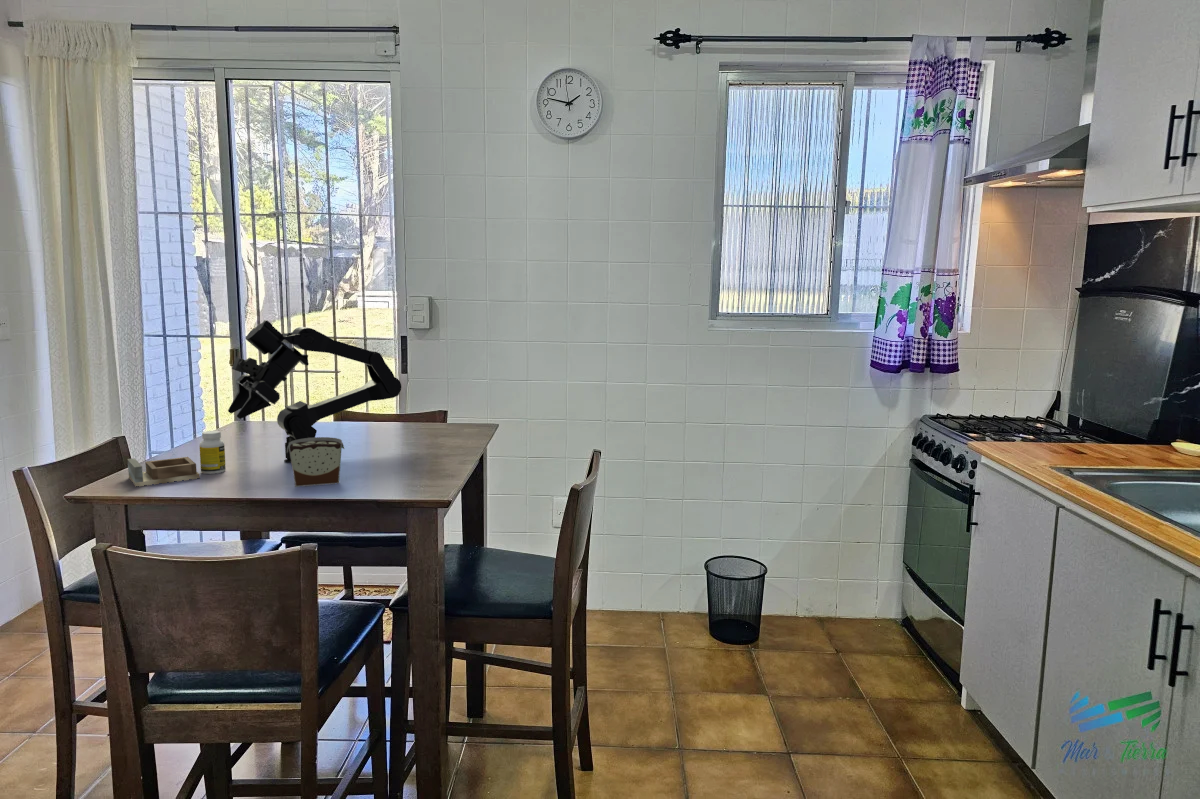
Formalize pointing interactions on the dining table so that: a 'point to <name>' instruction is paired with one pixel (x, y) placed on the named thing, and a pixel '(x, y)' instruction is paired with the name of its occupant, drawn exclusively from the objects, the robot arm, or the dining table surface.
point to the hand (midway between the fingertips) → (233, 414)
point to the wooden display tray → (162, 471)
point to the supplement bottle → (212, 453)
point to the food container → (315, 460)
